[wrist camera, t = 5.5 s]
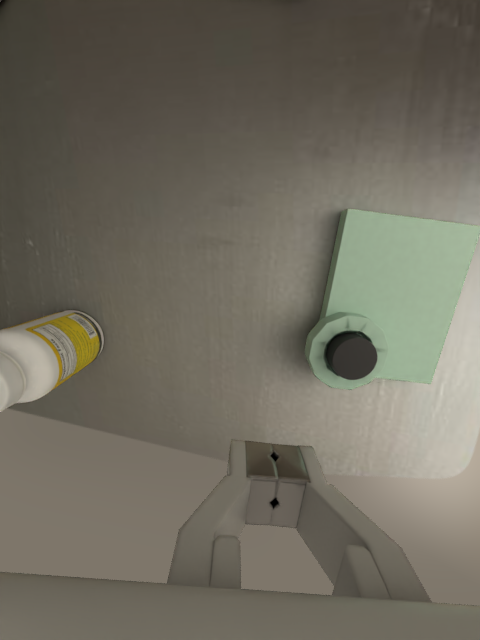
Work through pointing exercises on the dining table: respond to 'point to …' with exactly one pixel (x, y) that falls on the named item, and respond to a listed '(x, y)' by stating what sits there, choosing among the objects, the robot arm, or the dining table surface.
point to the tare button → (351, 356)
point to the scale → (392, 293)
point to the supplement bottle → (45, 354)
